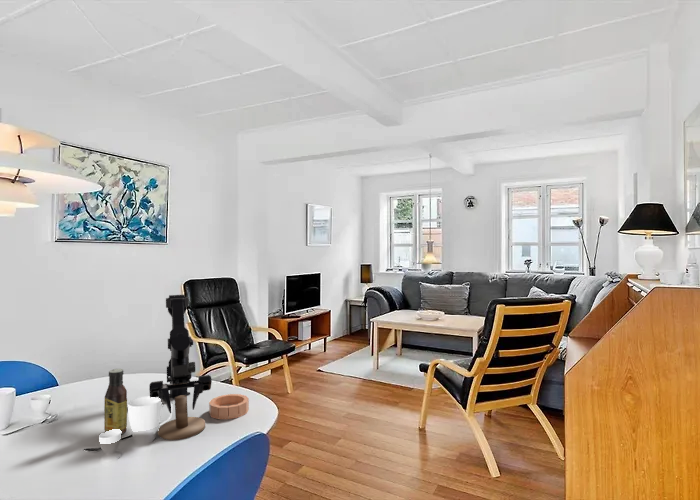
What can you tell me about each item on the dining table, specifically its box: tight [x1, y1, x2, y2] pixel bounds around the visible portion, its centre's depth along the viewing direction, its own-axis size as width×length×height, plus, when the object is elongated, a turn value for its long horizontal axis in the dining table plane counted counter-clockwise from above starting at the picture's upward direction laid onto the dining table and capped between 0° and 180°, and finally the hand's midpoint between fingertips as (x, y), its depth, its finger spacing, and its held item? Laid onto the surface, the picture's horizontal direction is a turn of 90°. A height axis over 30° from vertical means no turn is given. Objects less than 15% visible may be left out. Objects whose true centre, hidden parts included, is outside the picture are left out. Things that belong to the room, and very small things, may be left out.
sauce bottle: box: [103, 368, 128, 435], centre depth 134 cm, size 7×6×20 cm
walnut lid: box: [157, 395, 206, 441], centre depth 136 cm, size 14×14×10 cm
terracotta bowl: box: [208, 393, 250, 420], centre depth 150 cm, size 13×13×4 cm
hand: (182, 410), depth 135 cm, fingers open, 6 cm apart
